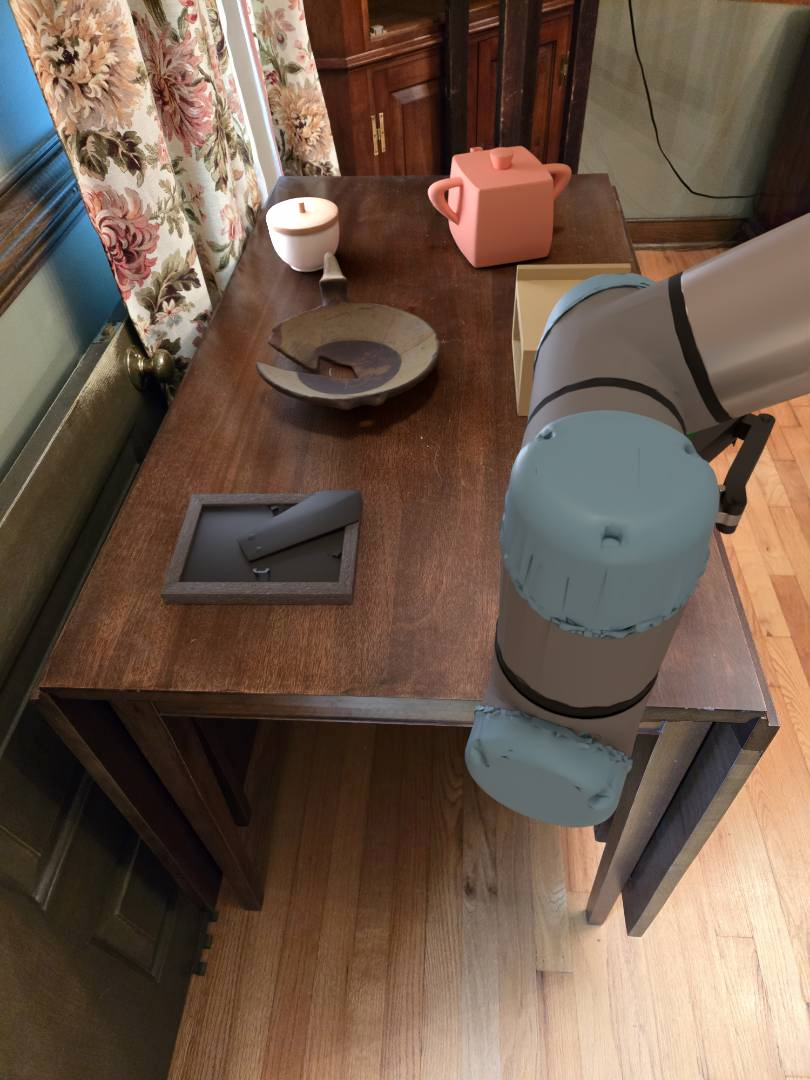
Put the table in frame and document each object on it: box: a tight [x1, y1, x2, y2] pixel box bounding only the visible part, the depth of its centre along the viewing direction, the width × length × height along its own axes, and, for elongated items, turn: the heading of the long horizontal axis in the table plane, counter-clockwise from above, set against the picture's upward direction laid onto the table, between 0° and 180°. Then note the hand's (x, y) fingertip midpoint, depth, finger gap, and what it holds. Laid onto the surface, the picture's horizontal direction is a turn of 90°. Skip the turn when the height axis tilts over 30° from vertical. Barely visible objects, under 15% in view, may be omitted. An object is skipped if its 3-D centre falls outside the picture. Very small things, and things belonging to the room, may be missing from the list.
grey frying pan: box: [255, 252, 441, 411], centre depth 91 cm, size 22×30×8 cm
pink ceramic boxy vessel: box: [427, 145, 573, 268], centre depth 110 cm, size 20×22×14 cm
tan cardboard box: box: [511, 262, 632, 417], centre depth 86 cm, size 14×16×10 cm
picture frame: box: [159, 489, 364, 605], centre depth 72 cm, size 13×2×18 cm
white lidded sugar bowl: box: [265, 196, 341, 273], centre depth 109 cm, size 11×11×9 cm
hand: (672, 352), depth 56 cm, fingers closed on decorative egg, 8 cm apart
